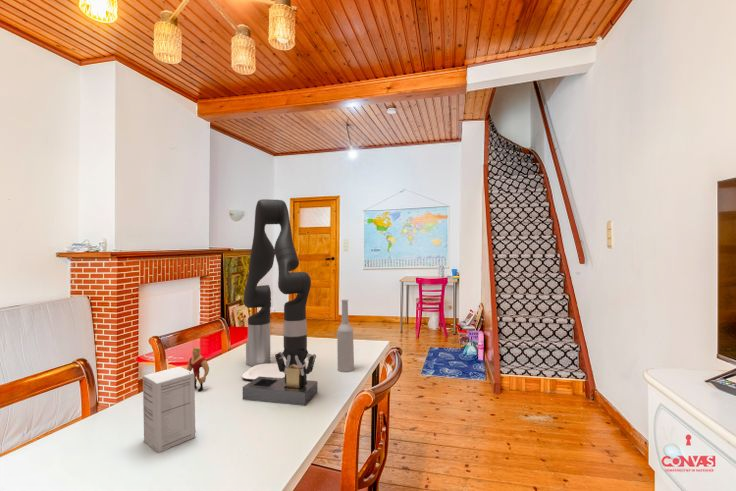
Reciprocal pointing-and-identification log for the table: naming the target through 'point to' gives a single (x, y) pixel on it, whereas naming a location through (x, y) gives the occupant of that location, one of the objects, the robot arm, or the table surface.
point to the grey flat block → (278, 391)
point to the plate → (263, 372)
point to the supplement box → (168, 408)
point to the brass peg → (293, 377)
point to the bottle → (345, 342)
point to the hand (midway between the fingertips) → (295, 385)
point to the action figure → (198, 367)
